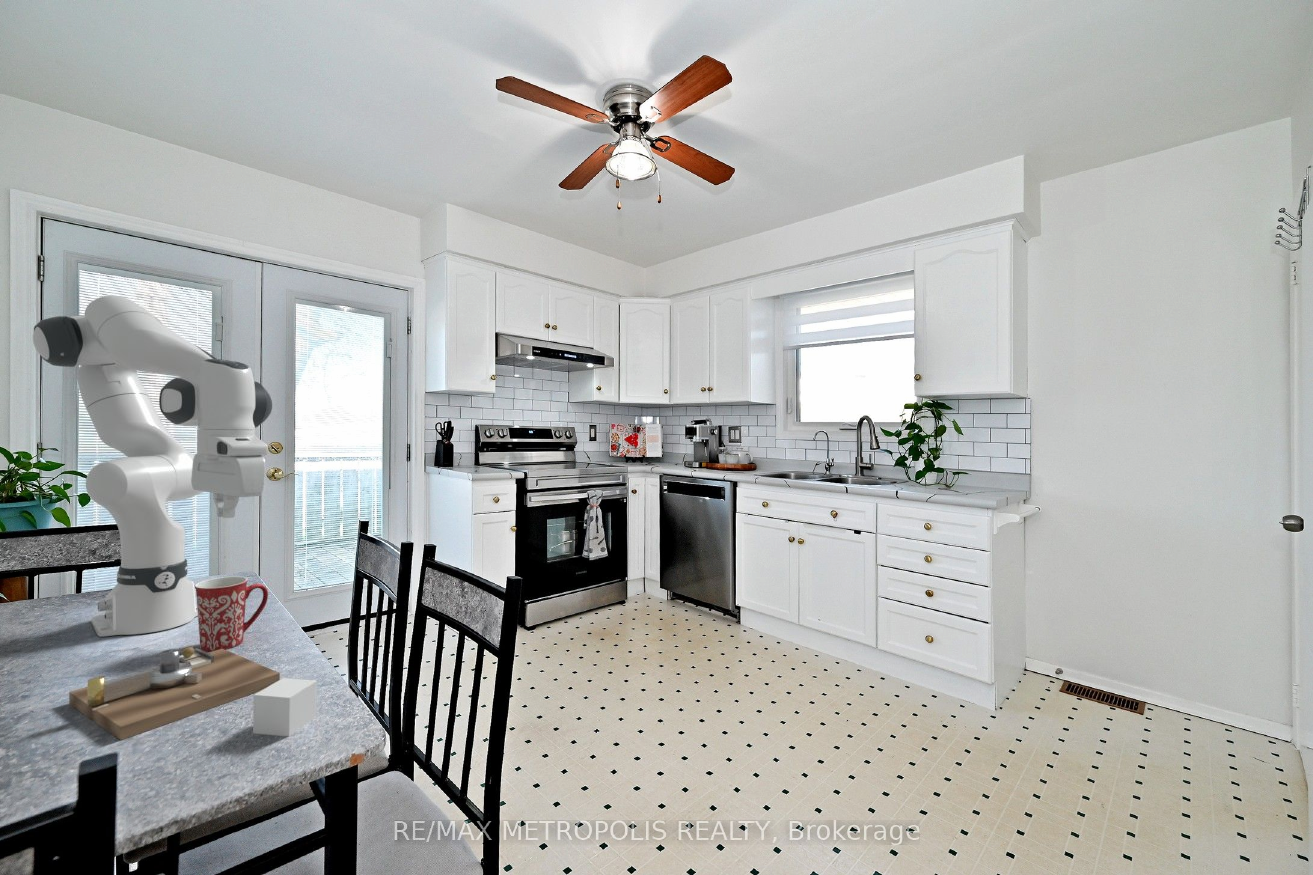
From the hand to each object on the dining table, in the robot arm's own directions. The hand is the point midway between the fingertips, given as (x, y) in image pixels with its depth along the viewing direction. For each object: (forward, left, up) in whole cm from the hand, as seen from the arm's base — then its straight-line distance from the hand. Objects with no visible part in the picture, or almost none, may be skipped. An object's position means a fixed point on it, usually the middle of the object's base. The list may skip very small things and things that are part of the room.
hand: (226, 517), depth 109 cm
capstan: (+4, -14, -27) cm, 30 cm away
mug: (-13, +7, -29) cm, 33 cm away
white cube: (+31, -5, -29) cm, 43 cm away
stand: (+5, -9, -29) cm, 31 cm away
